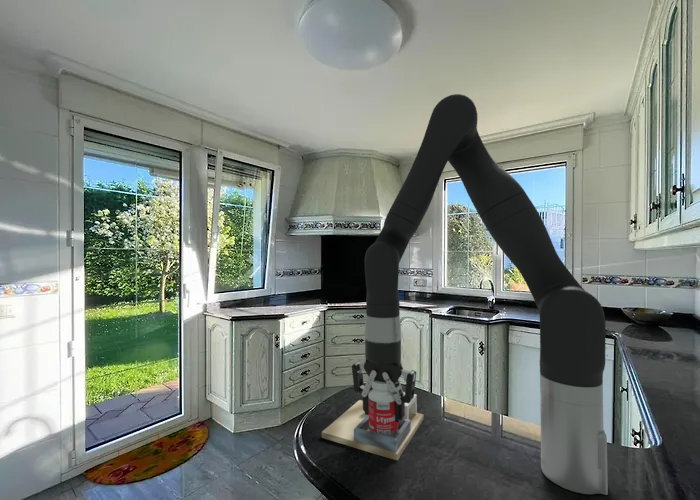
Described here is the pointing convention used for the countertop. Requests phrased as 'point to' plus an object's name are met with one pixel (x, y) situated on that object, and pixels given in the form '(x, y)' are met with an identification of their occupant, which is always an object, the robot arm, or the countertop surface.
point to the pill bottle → (382, 410)
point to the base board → (371, 433)
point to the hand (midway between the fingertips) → (383, 416)
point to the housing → (411, 407)
